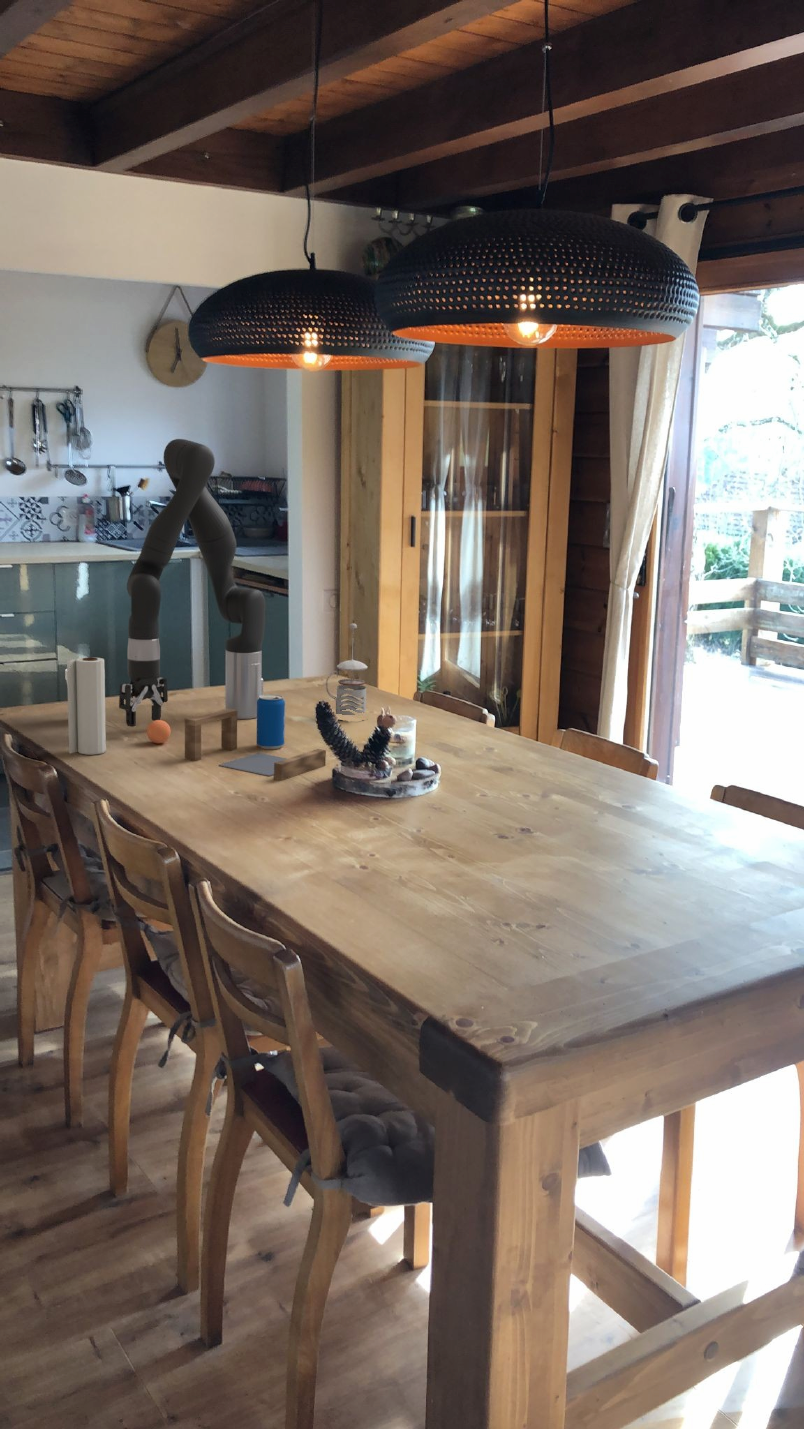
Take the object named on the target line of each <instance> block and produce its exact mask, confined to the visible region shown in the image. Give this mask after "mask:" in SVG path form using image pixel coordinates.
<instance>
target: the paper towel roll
mask: <svg viewBox="0 0 804 1429" xmlns="http://www.w3.org/2000/svg"><path fill="white" fill-rule="evenodd" d="M66 669H67V681H66V685H67V684H68V687H67V717H68V718H67V719H68V753H69V754H73V753H76V752H78V753H79V754H82V755H93V756H94V755H101V754H103V753H106V752H107V746H106V745H107V740H106V685H105V684H106V681H105V679H106V672H104V669H105V659H104V658H101V657H92V656H89V657H80V658H79V657H78V658H73V659H71V660H67V661H66Z"/></svg>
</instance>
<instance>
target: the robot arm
mask: <svg viewBox="0 0 804 1429" xmlns="http://www.w3.org/2000/svg"><path fill="white" fill-rule="evenodd" d="M215 462H216V461H215V455H214V452H213V451H212V449H211V448H210V447H209V446H207V445H205V444H202V443H198V442H195V441H192V440H188V439H183V438H175V439H172V440H170V441H169V442H168V443H167V445H166V446H165V448H164V451H163V464H164V467H165V470H166V473H167V475H168V477H169V479H170V481H171V483H172V484H173V487H174V489H175V492H174V494H173V496H172V497H171V499H170V500H169V502H168V503H167V504H166V505H165V507H163V509H161V511H160V512H159V513H158V514H157V515H156V517H155V518H154V519H153V521H152V523H151V525H150V526H149V528H148V531H147V534H146V536H145V539H144V542H143V544H142V547H141V550H140V553H139V556H138V558H137V560H136V561H135V563H134V565H133V567H132V569H131V571H130V574H129V576H128V578H127V583H126V591H127V594H128V595H129V597H130V600H131V601H130V602H131V603H130V604H131V605H130V607H131V608H130V609H131V610H130V611H131V612H130V616H129V618H128V642H127V676H128V677H129V679H130V681H129V683H127V684H126V683H120V685H119V700H118V708H119V709H121V710H124V711H125V723H126V725H127V727H133V728H135V727H136V726H137V720H136V719H137V717H136V716H137V712H136V709H137V707H138V705H139V704H141V703H142V701H143V700H146V699H149V701H150V702H151V704H152V705H151V721H152V722H153V721H155V720H161V717H162V706H163V704H164V703H167V702H168V700H169V697H168V695H169V694H168V679H167V678H164V677H160V675H161V646H160V639H159V638H160V633H159V632H160V631H159V630H160V625H159V616H160V608H161V599H162V588H161V584H160V582H159V581H160V579H161V576H162V573H163V571H164V568H166V567H167V566H168V565H169V563H170V561H171V559H172V556H173V554H174V550H175V548H176V545H177V544H178V543H177V542H178V540H179V537H180V535H181V533H182V530H183V528H184V526H185V524H186V522H187V520H188V521H189V524H190V527H191V530H192V532H193V536H194V538H195V541H196V543H197V546H198V550H199V552H200V554H201V556H202V559H203V561H204V564H205V567H206V570H207V572H208V576H209V578H210V582H211V585H212V590H213V593H214V597H215V600H216V604H217V608H218V612H219V614H220V615H221V617H222V619H223V620H224V621H226V622H228V623H230V624H231V623H232V624H239V625H241V629H240V632H239V633H238V634H237V635H235V636H231V637H228V638H226V640H225V693H224V694H225V695H224V696H225V702H224V703H225V704H224V705H225V707H224V709H227V708H228V709H234V710H237V720H238V719H239V720H240V719H242V720H248V719H249V720H250V719H257V701H258V699H259V696H260V695H264V679H263V677H262V663H263V662H262V660H263V659H262V655H263V654H262V652H263V651H262V650H263V648H262V645H263V642H264V638H265V625H266V610H267V608H266V599H265V596H264V594H263V592H262V591H261V590H259V589H257V588H256V589H255V588H248V587H238V586H237V584H236V582H235V579H234V577H233V574H232V565H233V561H234V559H235V555H236V552H237V539H236V536H235V533H234V531H233V528H232V524H231V522H230V521H229V520H230V519H229V518H228V516H227V514H226V512H224V510H223V509H222V507H221V506H220V504H218V502H217V501H216V500H215V499H214V497H213V496H212V494H211V493H210V491H209V490H208V488H207V484H208V482H209V480H210V478H211V476H212V474H213V472H214V469H215Z"/></svg>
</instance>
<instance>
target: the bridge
mask: <svg viewBox="0 0 804 1429" xmlns="http://www.w3.org/2000/svg"><path fill="white" fill-rule="evenodd" d="M219 720H220V721H221V726H220V727H221V734H220V735H221V736H220V737H221V739H220V740H221V741H220V744H221V747H220V749H221V748H222V750H226V751H227V750H228V751H234V750H237V749H238V719H237V710H234V709H228V708H227V709H225V708H224V709H219V710H215V711H211V712H206V713H202V714H199V715H195V716H191V717H185V718H184V759H185V760H187V761H192V762H198V761H200V760H202V725H204V724H208V723H212V722H217V721H219Z"/></svg>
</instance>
